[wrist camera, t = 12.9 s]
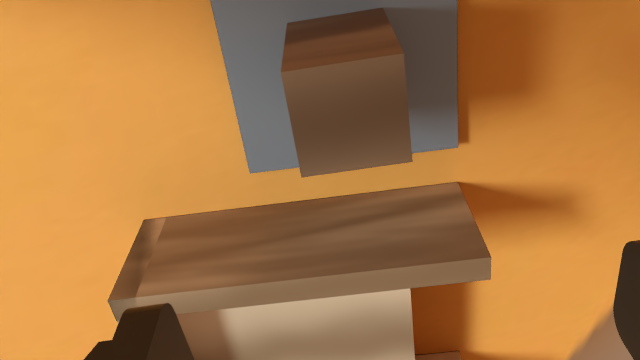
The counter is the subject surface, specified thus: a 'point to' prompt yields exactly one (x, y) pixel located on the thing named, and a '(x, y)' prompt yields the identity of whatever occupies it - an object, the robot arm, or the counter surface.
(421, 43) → the mat
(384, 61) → the block
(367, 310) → the crate
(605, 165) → the counter surface
